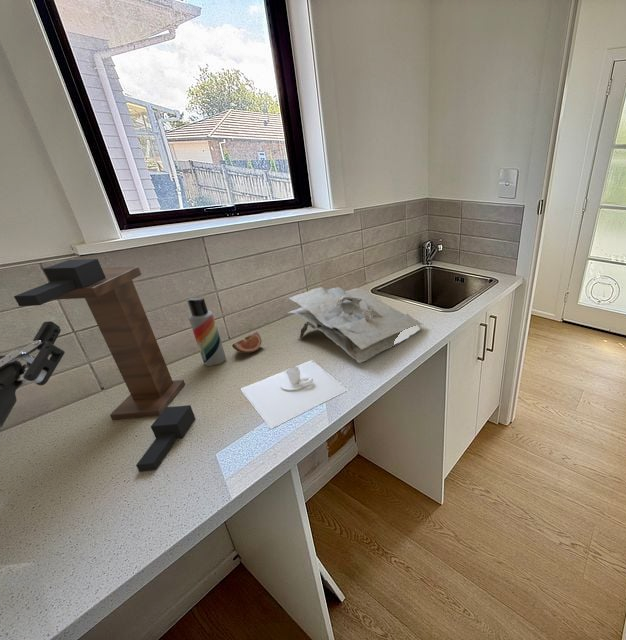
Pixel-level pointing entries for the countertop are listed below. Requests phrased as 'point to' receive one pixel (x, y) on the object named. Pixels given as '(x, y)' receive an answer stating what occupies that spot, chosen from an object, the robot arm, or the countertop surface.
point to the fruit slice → (248, 344)
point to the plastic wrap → (352, 319)
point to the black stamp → (63, 281)
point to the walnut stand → (130, 342)
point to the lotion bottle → (206, 332)
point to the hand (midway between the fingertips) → (22, 325)
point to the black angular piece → (166, 435)
